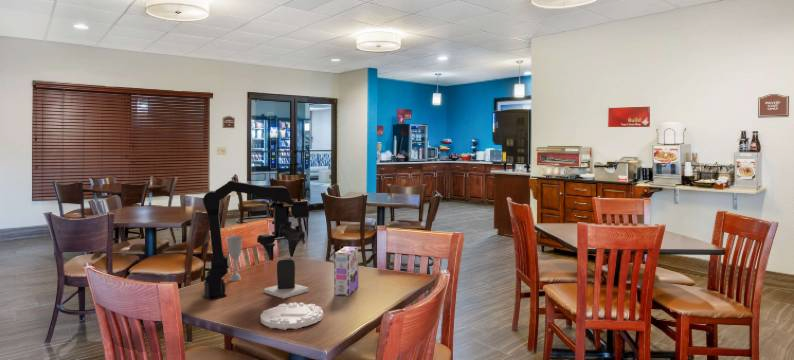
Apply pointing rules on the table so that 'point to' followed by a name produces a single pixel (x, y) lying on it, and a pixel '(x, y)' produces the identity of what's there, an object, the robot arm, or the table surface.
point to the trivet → (286, 291)
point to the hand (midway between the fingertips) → (281, 258)
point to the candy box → (345, 271)
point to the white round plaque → (291, 316)
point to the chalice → (234, 253)
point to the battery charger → (286, 273)
